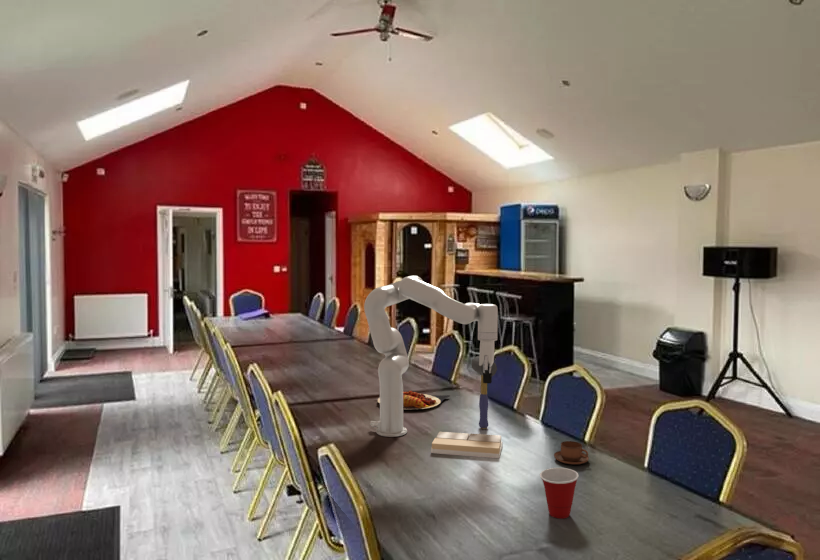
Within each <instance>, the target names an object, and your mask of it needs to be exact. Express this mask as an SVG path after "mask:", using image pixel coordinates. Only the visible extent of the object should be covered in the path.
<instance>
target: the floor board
mask: <svg viewBox="0 0 820 560" xmlns="http://www.w3.org/2000/svg"><path fill="white" fill-rule="evenodd" d="M502 450H503V441H501V444H500V443H496V442H483V441H469V440H455V439H441V438H436V437H434V439H433V441H432V442H431V448H430V452H431V454H436V455H437V454H438V455H439V454H441V455H450V456H464V457H465V456H466V457H477V458H478V457H479V458H491V459H500V458H501V452H502Z"/></svg>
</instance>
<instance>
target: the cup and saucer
mask: <svg viewBox="0 0 820 560" xmlns="http://www.w3.org/2000/svg"><path fill="white" fill-rule="evenodd" d="M584 452H585V453H584ZM553 456H554V459H556V460H557V461H558V462H560V463H563V464H567V465H573V466H574V465H583V464H585V463H587V462H588V461H589V459H590V457H589V452H588V451H587V450H586V449H584V448H583V444H582V443H580V442H578V441H572V440H567V441H566V440H565V441H562V442H561V443H560V450H559V451H556V452H554V454H553Z"/></svg>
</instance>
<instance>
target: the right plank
mask: <svg viewBox="0 0 820 560" xmlns="http://www.w3.org/2000/svg"><path fill="white" fill-rule="evenodd" d="M468 440H469V441H483V442H496V443H500V444H501V442H502V435H499V434H498V435H496V434H482V433H469V439H468Z"/></svg>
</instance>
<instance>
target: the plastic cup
mask: <svg viewBox="0 0 820 560" xmlns="http://www.w3.org/2000/svg"><path fill="white" fill-rule="evenodd" d="M539 477H540V479H541V481H542V483H543V487H544V493H545V500H546V503H547V510H548V511H547V512H548V513H549V516H551V517H552V518H554V519H567V518H569V517H570V515H571V510H572V505H573V502H574V501H573V500H574V496H575V490H576V486H577V483H578V482H577V481H578V479H579V473H578V472H577V471H576V470H574V469H571V468H566V467H551V468H547V469H544V470H542V471H541V472H540V473H539Z"/></svg>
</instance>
